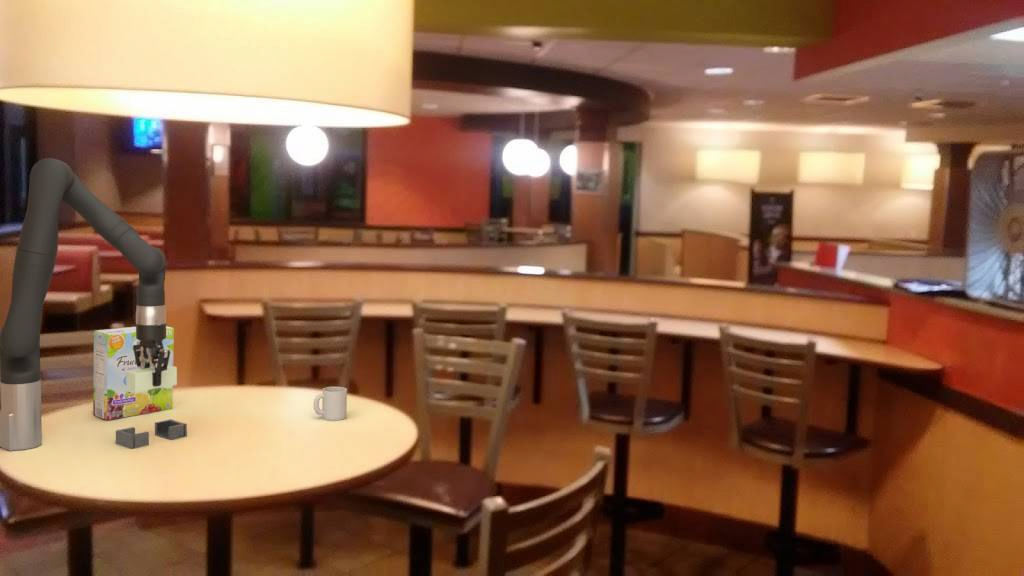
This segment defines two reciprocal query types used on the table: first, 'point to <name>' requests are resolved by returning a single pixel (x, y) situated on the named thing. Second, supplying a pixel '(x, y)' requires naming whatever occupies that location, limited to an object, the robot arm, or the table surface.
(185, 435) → the end cap
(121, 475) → the table surface
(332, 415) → the cup
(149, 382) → the slat
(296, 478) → the table surface
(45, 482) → the table surface
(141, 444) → the end cap
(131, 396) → the snack box
